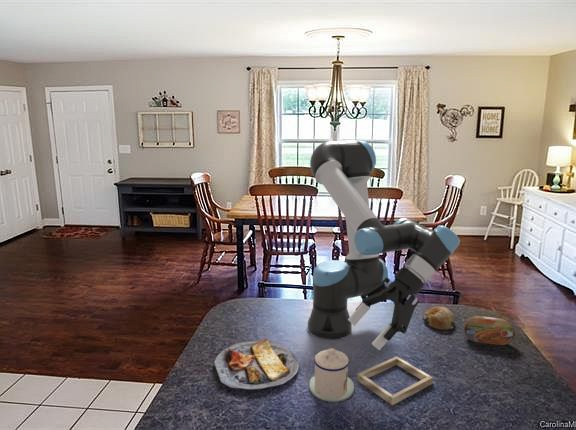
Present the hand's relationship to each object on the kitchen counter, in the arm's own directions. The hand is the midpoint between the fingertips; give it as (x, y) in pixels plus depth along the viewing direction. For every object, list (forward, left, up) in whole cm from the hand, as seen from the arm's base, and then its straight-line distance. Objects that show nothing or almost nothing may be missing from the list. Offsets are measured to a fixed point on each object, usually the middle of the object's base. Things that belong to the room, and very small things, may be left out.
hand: (362, 334), depth 117 cm
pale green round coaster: (-3, -8, -15) cm, 17 cm away
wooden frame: (+5, +8, -15) cm, 18 cm away
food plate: (-23, -20, -15) cm, 34 cm away
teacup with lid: (-3, -9, -14) cm, 17 cm away
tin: (+7, +50, -15) cm, 53 cm away
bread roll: (-10, +47, -15) cm, 51 cm away
